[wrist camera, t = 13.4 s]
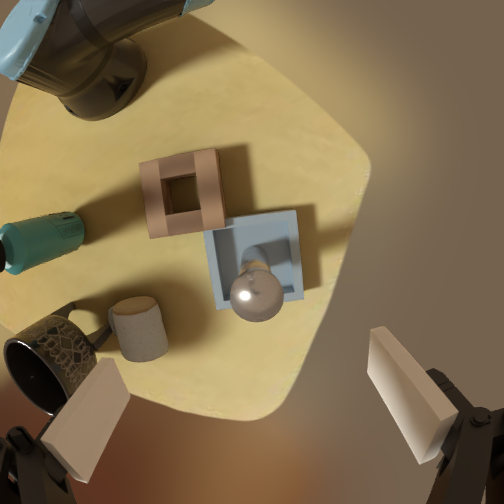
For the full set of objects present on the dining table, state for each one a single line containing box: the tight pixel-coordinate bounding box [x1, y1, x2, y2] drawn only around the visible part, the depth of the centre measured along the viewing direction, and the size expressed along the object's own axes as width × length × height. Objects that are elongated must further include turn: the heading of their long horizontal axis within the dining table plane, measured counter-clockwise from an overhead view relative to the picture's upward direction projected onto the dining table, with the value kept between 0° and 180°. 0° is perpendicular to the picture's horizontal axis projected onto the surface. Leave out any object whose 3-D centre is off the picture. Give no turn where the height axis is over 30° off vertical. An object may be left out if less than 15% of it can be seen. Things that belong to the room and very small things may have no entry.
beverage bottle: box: [0, 211, 85, 275], centre depth 28 cm, size 6×7×20 cm
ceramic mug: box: [108, 296, 169, 362], centre depth 37 cm, size 11×8×8 cm
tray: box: [203, 209, 304, 310], centre depth 37 cm, size 12×12×3 cm
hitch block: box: [139, 148, 227, 239], centre depth 35 cm, size 10×10×4 cm
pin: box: [230, 246, 284, 322], centre depth 31 cm, size 5×5×15 cm
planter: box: [3, 302, 113, 416], centre depth 32 cm, size 13×13×18 cm
